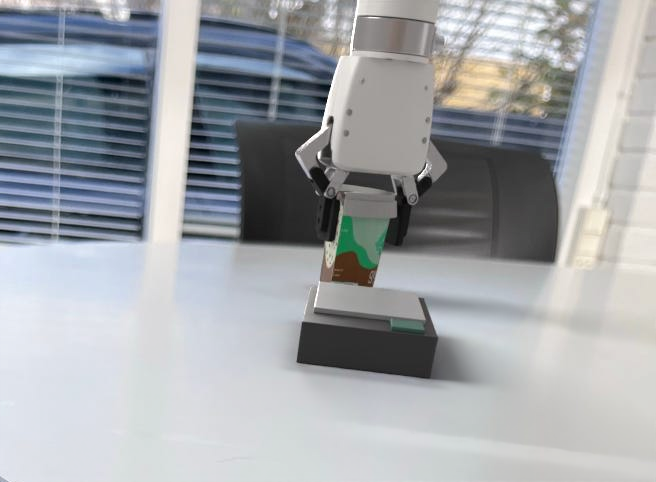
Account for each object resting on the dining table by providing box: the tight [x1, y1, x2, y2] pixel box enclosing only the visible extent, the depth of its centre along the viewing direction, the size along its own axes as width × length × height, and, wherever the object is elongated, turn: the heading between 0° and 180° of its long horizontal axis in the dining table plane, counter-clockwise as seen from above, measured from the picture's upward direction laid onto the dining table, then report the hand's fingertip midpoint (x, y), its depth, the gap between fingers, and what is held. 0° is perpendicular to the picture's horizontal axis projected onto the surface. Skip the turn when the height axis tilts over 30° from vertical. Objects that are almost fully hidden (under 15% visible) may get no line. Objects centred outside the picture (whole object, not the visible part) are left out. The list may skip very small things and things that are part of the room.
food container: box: [318, 183, 397, 288], centre depth 109 cm, size 12×6×10 cm, turn 179°
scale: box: [296, 281, 439, 379], centre depth 86 cm, size 10×18×3 cm, turn 171°
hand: (359, 240), depth 108 cm, fingers closed on food container, 6 cm apart
